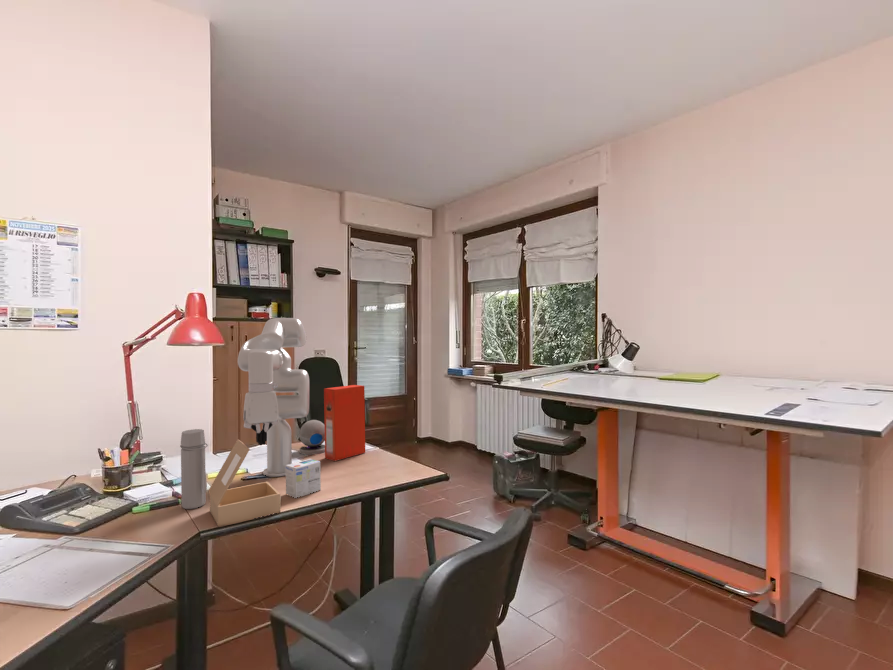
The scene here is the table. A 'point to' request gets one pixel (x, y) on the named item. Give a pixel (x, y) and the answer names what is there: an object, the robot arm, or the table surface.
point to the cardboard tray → (246, 504)
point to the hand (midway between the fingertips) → (261, 443)
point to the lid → (228, 471)
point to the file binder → (344, 421)
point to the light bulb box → (303, 478)
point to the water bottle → (193, 469)
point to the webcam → (312, 437)
